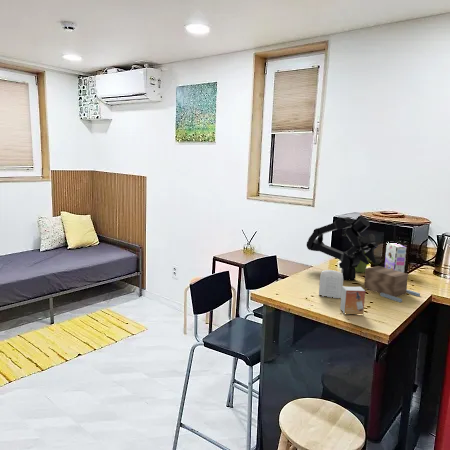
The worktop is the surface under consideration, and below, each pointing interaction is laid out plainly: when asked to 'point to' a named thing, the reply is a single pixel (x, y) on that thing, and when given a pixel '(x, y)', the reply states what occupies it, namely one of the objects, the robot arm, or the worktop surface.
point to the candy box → (395, 257)
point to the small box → (352, 300)
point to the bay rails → (399, 298)
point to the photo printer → (331, 283)
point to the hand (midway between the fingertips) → (371, 263)
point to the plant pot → (361, 266)
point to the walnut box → (386, 281)
